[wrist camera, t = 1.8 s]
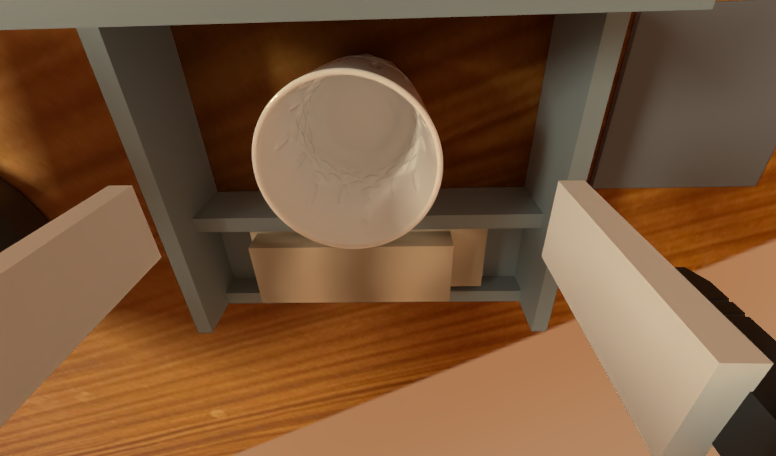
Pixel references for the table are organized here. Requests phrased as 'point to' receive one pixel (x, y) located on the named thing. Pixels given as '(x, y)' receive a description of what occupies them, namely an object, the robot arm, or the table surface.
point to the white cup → (348, 154)
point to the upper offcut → (353, 269)
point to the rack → (248, 208)
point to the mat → (693, 100)
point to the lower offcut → (456, 254)
